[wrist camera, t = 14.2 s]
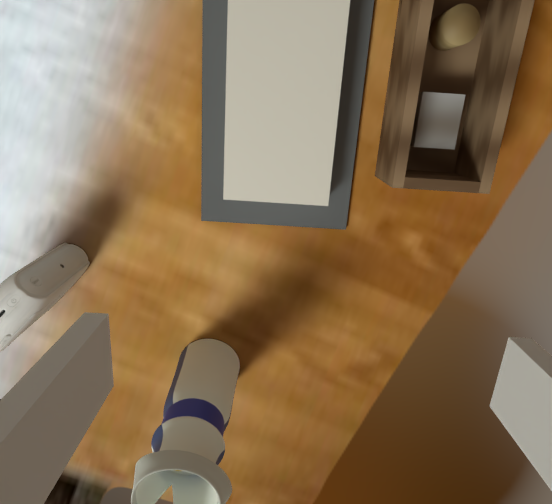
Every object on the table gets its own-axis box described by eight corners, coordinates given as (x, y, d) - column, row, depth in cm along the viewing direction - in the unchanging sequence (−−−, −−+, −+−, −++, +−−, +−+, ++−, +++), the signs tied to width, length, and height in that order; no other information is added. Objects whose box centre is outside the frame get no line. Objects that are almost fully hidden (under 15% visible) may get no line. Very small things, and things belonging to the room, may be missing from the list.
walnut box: (405, -43, 38) (433, -75, 31) (502, -35, 38) (549, -66, 32) (374, 175, 44) (392, 187, 38) (457, 181, 45) (489, 193, 38)
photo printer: (67, 234, 47) (-2, 276, 35) (98, 260, 48) (40, 309, 36) (15, 292, 49) (-67, 349, 37) (45, 315, 50) (-26, 378, 38)
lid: (232, -42, 38) (229, -56, 34) (348, -34, 38) (355, -46, 35) (226, 193, 44) (223, 199, 41) (324, 199, 45) (328, 206, 42)
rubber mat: (204, -85, 37) (203, -87, 36) (381, -71, 37) (383, -74, 37) (202, 219, 46) (201, 220, 45) (345, 228, 46) (345, 229, 46)
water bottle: (227, 403, 54) (190, 632, 30) (166, 378, 53) (78, 596, 29) (255, 355, 52) (238, 562, 28) (192, 327, 50) (119, 519, 27)
